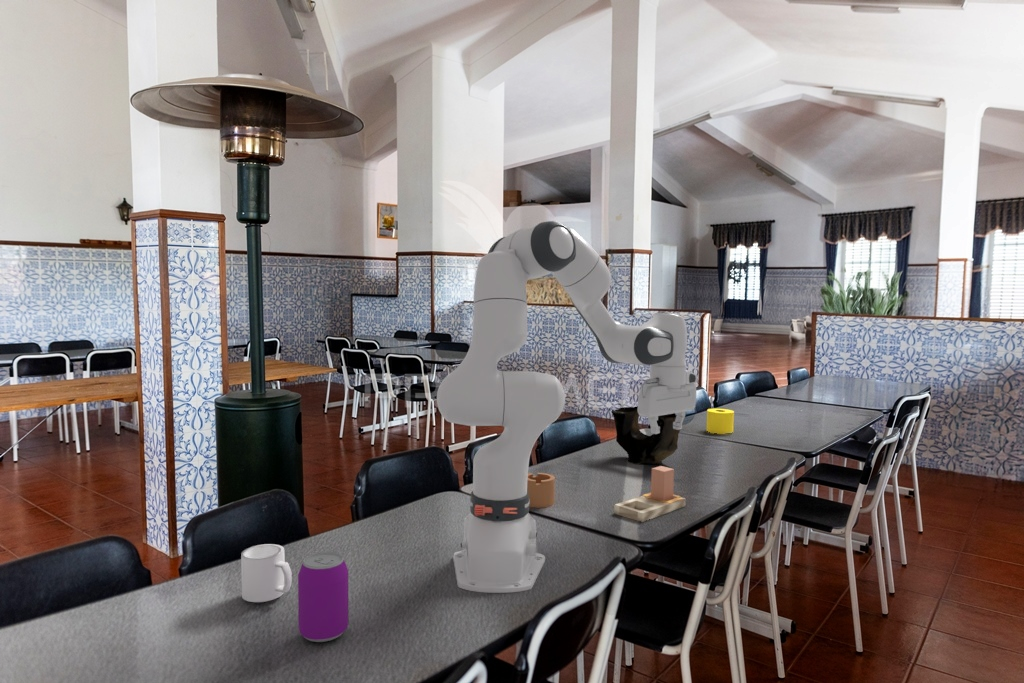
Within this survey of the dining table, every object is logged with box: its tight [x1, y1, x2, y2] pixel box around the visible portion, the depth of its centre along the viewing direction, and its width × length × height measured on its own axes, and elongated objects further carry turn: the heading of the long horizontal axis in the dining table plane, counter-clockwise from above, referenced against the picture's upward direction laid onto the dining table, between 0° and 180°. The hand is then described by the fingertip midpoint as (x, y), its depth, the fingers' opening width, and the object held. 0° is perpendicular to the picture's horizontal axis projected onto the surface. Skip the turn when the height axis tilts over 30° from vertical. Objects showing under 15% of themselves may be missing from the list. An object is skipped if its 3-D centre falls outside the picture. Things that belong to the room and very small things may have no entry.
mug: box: [240, 543, 293, 603], centre depth 121 cm, size 10×7×8 cm
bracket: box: [527, 472, 556, 508], centre depth 181 cm, size 18×8×7 cm, turn 5°
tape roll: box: [706, 408, 735, 435], centre depth 264 cm, size 10×10×9 cm
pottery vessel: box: [611, 405, 681, 466], centre depth 217 cm, size 25×11×20 cm, turn 47°
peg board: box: [613, 491, 686, 523], centre depth 170 cm, size 18×8×3 cm, turn 132°
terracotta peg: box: [650, 465, 675, 502], centre depth 173 cm, size 4×4×10 cm
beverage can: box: [297, 550, 350, 643], centre depth 108 cm, size 8×8×12 cm
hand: (666, 431), depth 171 cm, fingers open, 8 cm apart
